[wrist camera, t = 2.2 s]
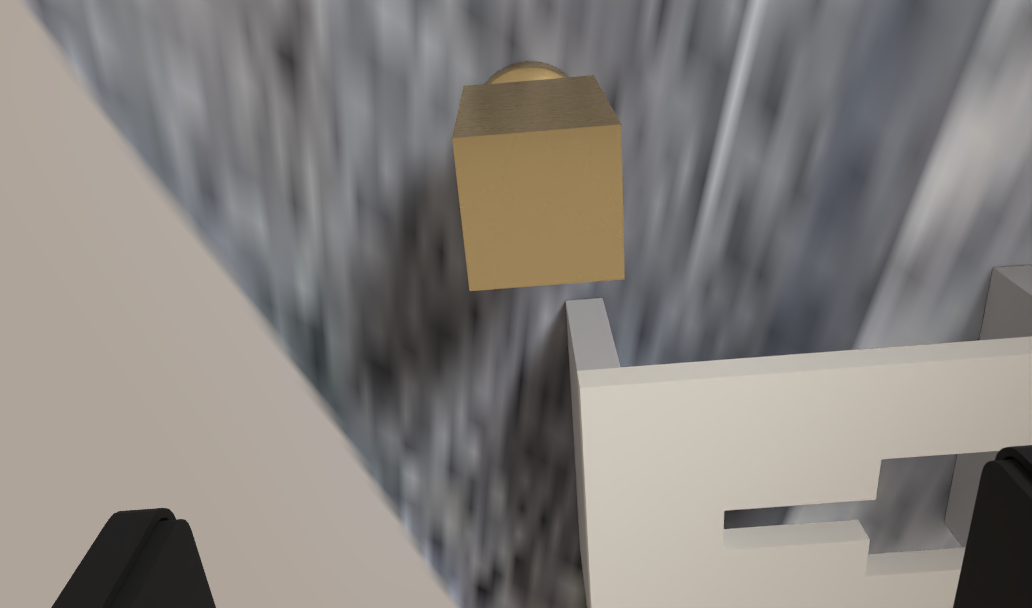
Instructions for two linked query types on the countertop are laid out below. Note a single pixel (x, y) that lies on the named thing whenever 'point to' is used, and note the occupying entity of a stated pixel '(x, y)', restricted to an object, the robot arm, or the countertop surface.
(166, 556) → the robot arm
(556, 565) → the countertop surface
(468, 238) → the brass peg
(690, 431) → the notched white bracket
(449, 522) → the countertop surface
